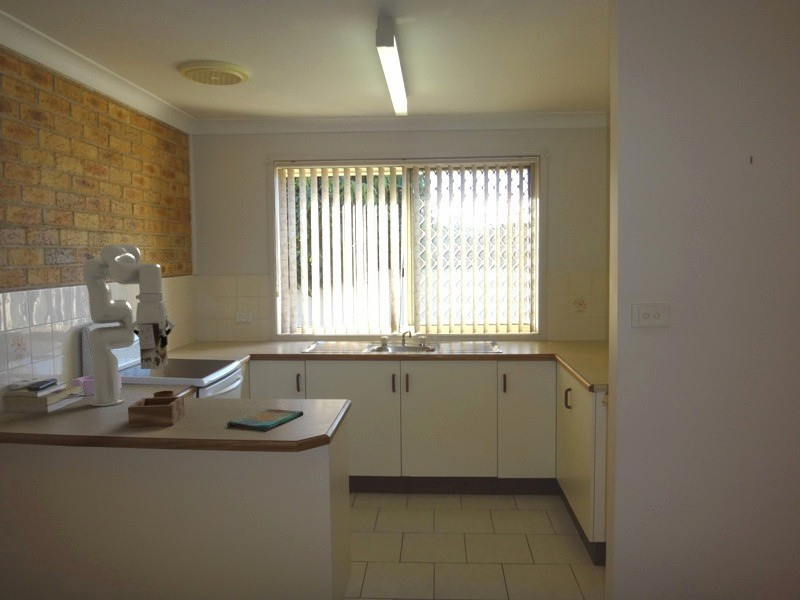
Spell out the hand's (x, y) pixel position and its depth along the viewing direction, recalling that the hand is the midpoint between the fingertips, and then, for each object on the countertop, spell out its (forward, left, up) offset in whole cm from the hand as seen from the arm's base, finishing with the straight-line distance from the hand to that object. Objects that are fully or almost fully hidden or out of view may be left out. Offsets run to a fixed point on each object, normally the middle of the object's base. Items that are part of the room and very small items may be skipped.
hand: (153, 347), depth 222 cm
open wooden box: (0, 0, -27) cm, 27 cm away
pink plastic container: (-60, -45, -27) cm, 80 cm away
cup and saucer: (-21, -4, -27) cm, 35 cm away
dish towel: (+7, +40, -28) cm, 49 cm away
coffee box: (0, 0, -7) cm, 7 cm away
